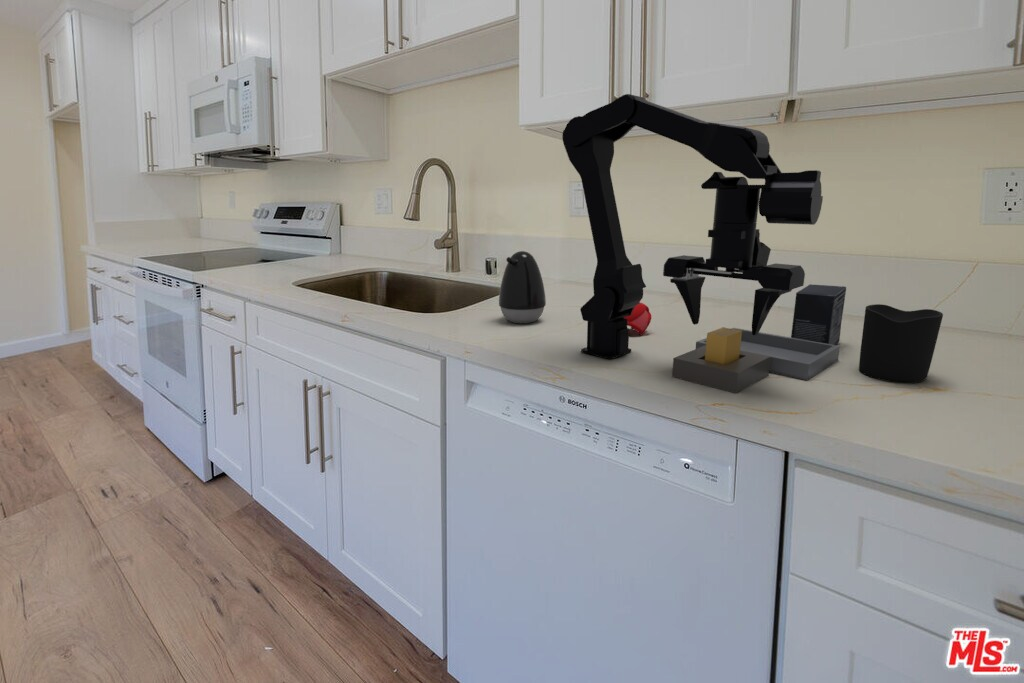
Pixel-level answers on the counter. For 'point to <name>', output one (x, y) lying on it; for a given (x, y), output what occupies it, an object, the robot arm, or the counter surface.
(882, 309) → the pen holder
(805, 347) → the parts tray
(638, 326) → the cap
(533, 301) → the pump dispenser
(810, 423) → the counter surface
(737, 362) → the gray square frame
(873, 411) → the counter surface
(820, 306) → the small box
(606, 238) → the robot arm
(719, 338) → the block
